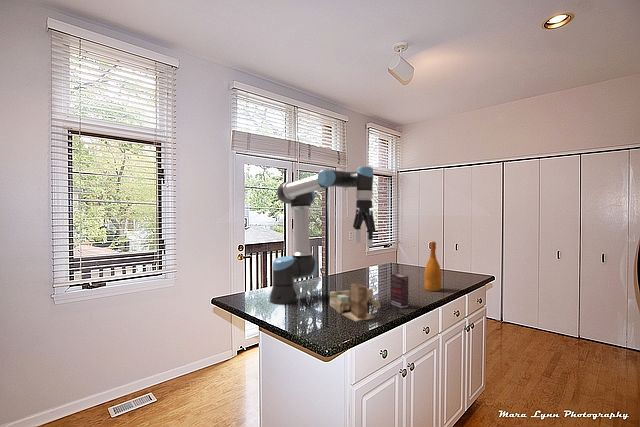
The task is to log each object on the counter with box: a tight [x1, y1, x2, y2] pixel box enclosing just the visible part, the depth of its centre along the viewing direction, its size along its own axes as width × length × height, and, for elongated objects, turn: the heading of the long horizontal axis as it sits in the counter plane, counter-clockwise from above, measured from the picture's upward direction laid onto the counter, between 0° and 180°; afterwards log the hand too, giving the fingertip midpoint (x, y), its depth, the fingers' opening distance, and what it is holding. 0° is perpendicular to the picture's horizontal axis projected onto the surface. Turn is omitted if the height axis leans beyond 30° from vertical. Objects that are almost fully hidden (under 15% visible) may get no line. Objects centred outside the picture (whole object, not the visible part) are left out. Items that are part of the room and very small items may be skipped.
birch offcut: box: [343, 303, 350, 312], centre depth 172 cm, size 4×7×4 cm, turn 18°
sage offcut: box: [337, 295, 348, 303], centre depth 172 cm, size 4×5×3 cm
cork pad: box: [341, 311, 376, 322], centre depth 160 cm, size 11×11×1 cm
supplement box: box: [390, 273, 409, 309], centre depth 177 cm, size 9×5×16 cm, turn 29°
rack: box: [329, 288, 381, 314], centre depth 174 cm, size 24×14×7 cm, turn 108°
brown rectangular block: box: [350, 282, 368, 318], centre depth 160 cm, size 4×8×14 cm, turn 18°
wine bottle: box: [423, 241, 442, 292], centre depth 211 cm, size 10×10×30 cm
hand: (363, 244), depth 161 cm, fingers open, 13 cm apart
